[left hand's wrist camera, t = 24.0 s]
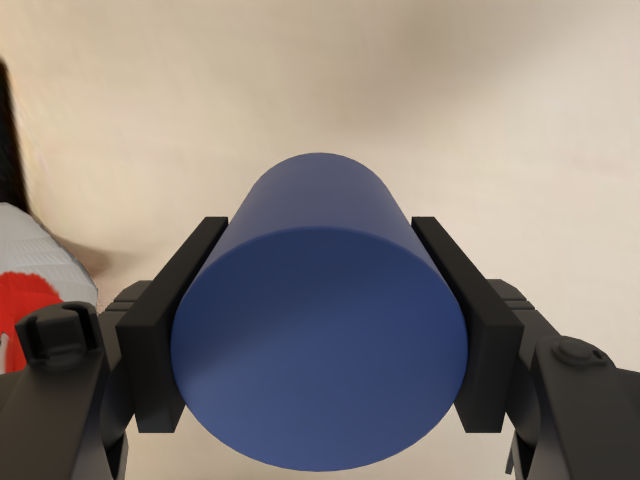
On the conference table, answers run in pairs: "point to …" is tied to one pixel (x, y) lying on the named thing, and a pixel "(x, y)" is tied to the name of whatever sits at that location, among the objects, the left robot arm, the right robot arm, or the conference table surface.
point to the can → (319, 324)
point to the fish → (33, 278)
